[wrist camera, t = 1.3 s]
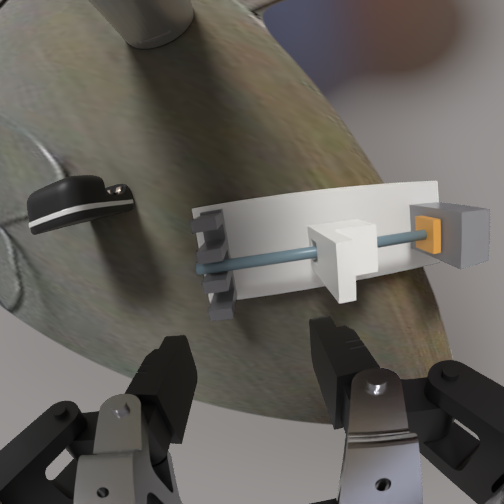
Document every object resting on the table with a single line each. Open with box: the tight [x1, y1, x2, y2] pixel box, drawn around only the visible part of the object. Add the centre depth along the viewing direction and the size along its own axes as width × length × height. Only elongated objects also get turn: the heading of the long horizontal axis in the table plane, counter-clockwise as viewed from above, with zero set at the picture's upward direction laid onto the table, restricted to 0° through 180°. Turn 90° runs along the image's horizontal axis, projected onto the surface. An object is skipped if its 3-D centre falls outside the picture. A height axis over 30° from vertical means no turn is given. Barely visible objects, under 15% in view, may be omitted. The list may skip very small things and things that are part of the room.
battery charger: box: [27, 175, 134, 235], centre depth 22 cm, size 7×4×11 cm, turn 99°
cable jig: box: [190, 181, 490, 321], centre depth 23 cm, size 10×28×10 cm, turn 99°
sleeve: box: [307, 219, 378, 304], centre depth 20 cm, size 4×5×8 cm
